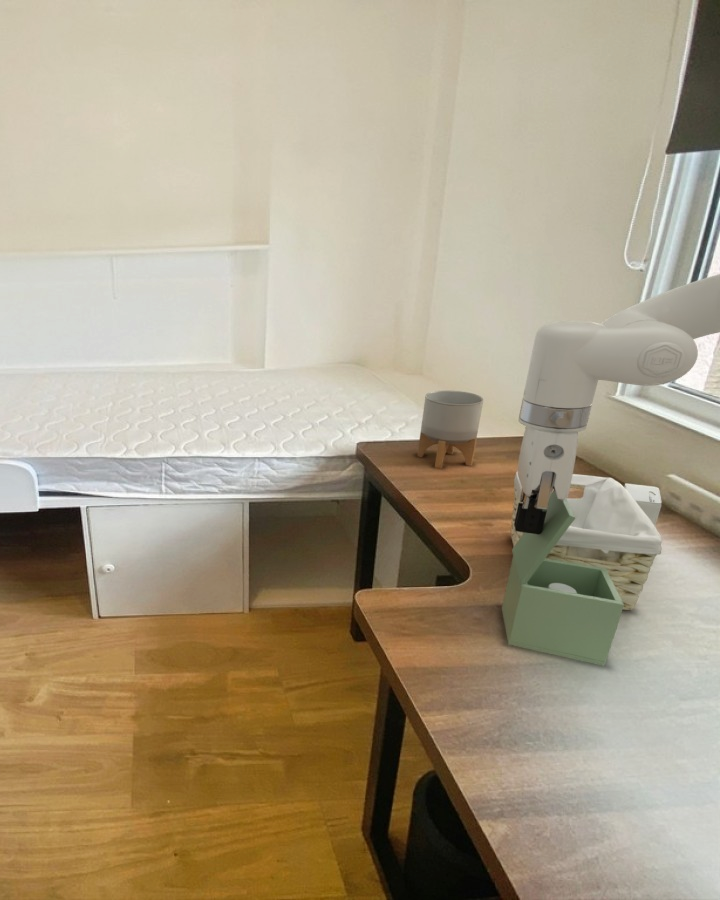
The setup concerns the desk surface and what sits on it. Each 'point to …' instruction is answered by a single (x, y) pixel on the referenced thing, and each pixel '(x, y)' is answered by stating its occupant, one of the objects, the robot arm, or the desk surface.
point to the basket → (605, 534)
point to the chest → (563, 611)
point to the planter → (450, 424)
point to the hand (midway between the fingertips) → (527, 530)
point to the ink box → (646, 499)
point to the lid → (542, 538)
